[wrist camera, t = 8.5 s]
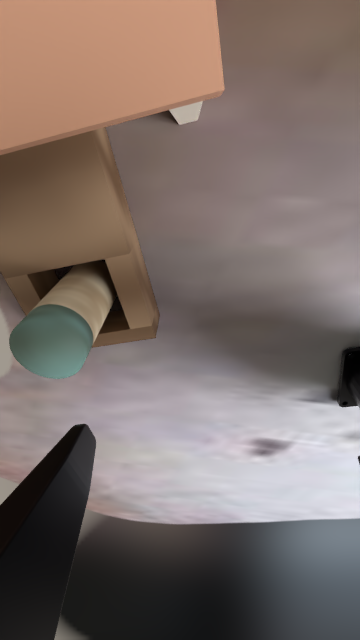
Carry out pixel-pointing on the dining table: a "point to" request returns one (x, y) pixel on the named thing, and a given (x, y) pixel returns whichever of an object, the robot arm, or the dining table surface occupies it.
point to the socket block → (73, 229)
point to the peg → (65, 322)
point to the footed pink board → (102, 65)
